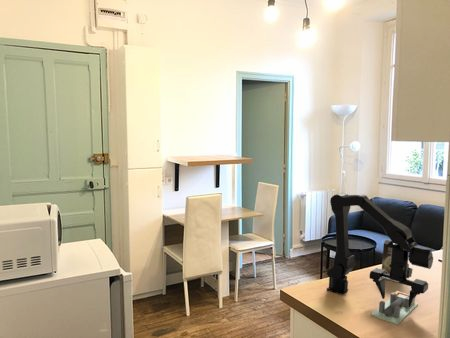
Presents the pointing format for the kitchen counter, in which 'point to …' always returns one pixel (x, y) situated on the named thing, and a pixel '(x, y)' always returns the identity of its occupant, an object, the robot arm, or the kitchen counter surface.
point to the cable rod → (395, 304)
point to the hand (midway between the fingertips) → (396, 302)
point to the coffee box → (386, 257)
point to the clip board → (398, 311)
